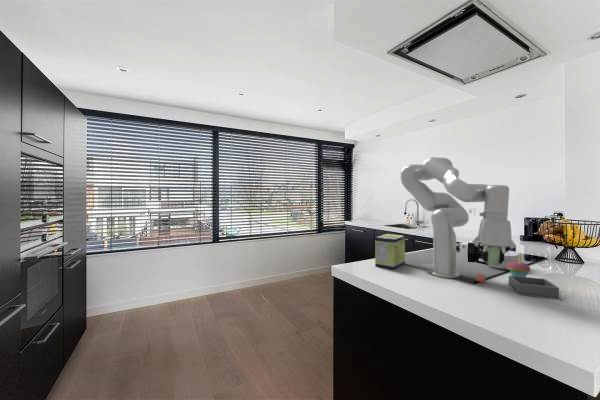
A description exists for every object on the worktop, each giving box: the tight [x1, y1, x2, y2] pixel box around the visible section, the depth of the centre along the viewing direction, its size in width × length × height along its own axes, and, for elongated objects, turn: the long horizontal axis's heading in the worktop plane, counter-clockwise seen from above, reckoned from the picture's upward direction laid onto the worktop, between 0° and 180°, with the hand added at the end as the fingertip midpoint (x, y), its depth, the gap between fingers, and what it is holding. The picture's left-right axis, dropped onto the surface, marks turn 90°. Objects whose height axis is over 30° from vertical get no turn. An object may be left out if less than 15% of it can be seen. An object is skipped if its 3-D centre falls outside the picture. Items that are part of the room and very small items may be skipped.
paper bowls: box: [487, 250, 521, 270], centre depth 136 cm, size 15×15×8 cm
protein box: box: [374, 233, 406, 270], centre depth 143 cm, size 10×16×16 cm
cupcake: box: [506, 253, 531, 277], centre depth 120 cm, size 9×8×12 cm
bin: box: [508, 275, 560, 300], centre depth 104 cm, size 12×11×4 cm
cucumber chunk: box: [485, 245, 500, 266], centre depth 105 cm, size 4×4×7 cm
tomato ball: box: [475, 273, 486, 283], centre depth 114 cm, size 4×4×4 cm
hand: (492, 261), depth 106 cm, fingers closed on cucumber chunk, 4 cm apart
